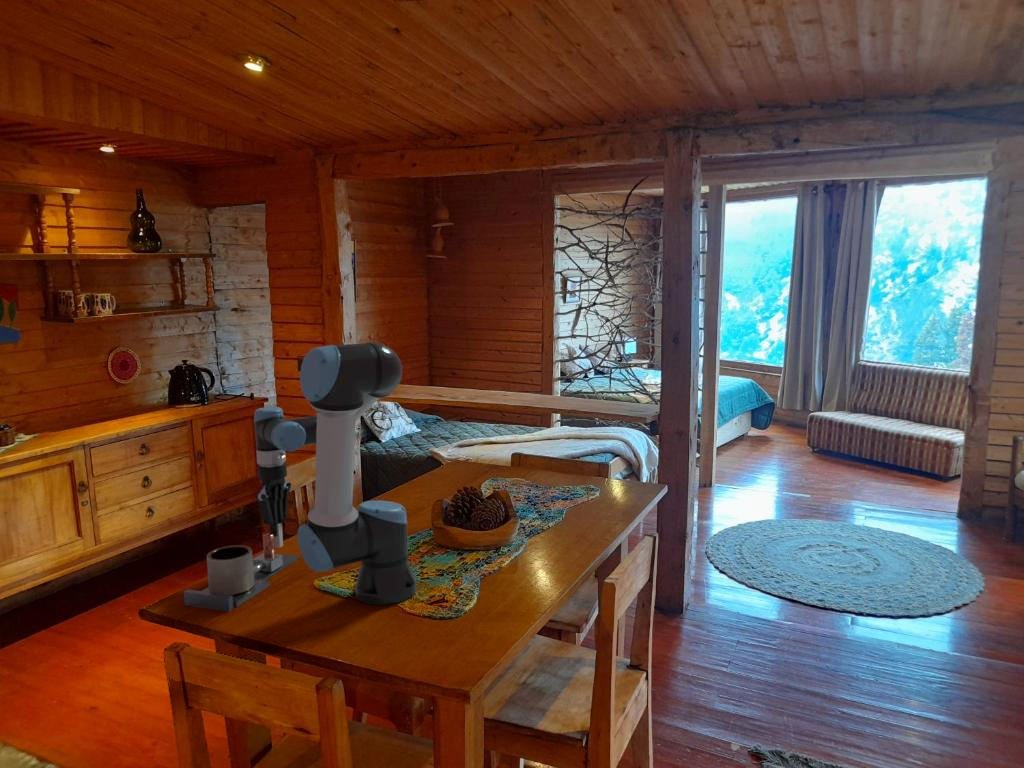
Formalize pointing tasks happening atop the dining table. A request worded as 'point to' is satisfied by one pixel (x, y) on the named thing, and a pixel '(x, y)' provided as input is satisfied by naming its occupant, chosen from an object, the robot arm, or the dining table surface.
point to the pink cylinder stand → (267, 556)
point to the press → (228, 601)
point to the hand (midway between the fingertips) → (277, 546)
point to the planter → (230, 570)
